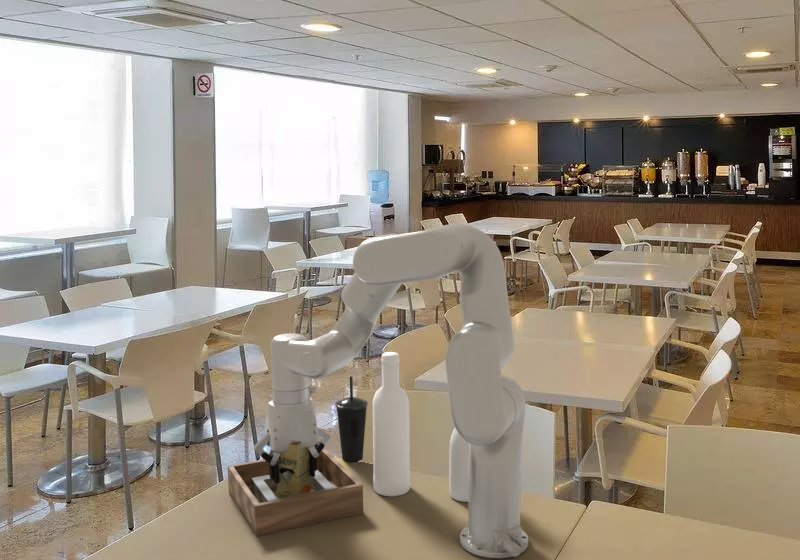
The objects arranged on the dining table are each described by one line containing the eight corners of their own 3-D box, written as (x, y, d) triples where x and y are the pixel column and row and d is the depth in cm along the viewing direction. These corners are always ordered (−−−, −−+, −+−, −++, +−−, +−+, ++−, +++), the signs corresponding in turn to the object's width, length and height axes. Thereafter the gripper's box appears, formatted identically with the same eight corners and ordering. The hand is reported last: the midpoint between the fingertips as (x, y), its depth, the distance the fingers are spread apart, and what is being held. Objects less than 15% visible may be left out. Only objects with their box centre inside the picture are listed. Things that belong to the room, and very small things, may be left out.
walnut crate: (363, 513, 159) (362, 484, 158) (256, 536, 150) (255, 506, 149) (325, 474, 179) (325, 448, 178) (228, 492, 170) (227, 465, 169)
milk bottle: (473, 506, 162) (474, 412, 159) (442, 497, 167) (442, 405, 163) (492, 493, 168) (493, 402, 165) (461, 484, 173) (462, 396, 170)
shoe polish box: (298, 501, 161) (296, 445, 159) (277, 497, 163) (275, 441, 161) (310, 491, 166) (308, 437, 164) (290, 488, 167) (288, 433, 166)
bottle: (367, 493, 169) (364, 356, 164) (382, 479, 176) (380, 347, 171) (401, 499, 166) (400, 360, 161) (415, 484, 173) (415, 351, 168)
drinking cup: (374, 456, 189) (373, 375, 186) (356, 467, 183) (355, 383, 180) (348, 450, 193) (347, 370, 190) (330, 460, 187) (328, 378, 184)
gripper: (324, 384, 168) (326, 464, 171) (244, 395, 161) (247, 479, 163) (337, 394, 161) (339, 477, 164) (253, 406, 154) (257, 492, 157)
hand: (293, 477), depth 164 cm, fingers closed on shoe polish box, 7 cm apart
